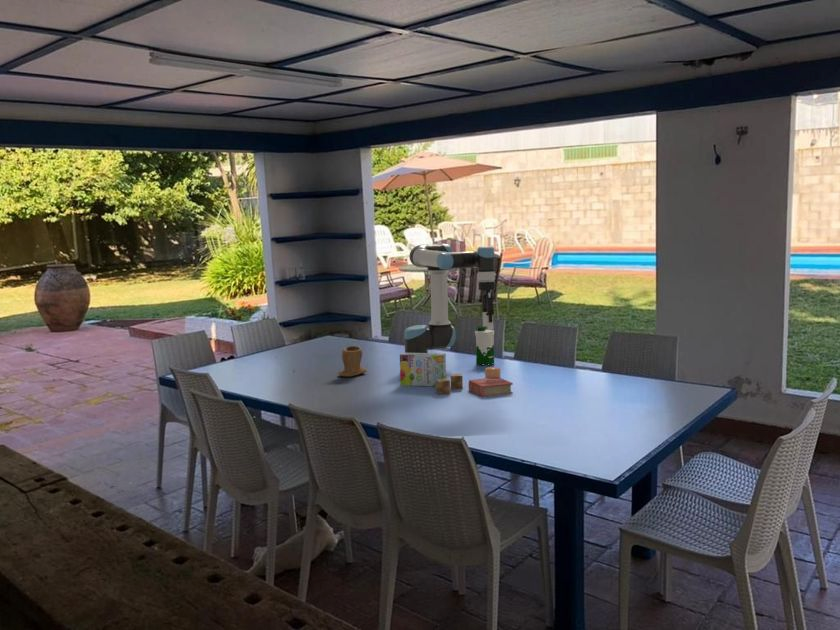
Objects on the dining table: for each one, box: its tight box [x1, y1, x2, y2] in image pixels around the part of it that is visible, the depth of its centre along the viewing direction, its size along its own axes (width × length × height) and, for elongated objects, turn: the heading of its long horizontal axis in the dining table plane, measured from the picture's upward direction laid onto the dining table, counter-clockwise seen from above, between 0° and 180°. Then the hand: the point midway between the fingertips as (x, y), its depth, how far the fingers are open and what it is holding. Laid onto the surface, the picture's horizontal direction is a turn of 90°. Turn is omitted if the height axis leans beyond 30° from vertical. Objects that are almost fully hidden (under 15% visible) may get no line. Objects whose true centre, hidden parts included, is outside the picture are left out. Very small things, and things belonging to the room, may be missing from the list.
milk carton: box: [474, 325, 495, 366], centre depth 384 cm, size 9×9×20 cm
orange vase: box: [337, 345, 368, 378], centre depth 365 cm, size 15×12×15 cm
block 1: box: [435, 378, 451, 396], centre depth 322 cm, size 5×5×6 cm
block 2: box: [450, 373, 464, 390], centre depth 332 cm, size 5×5×6 cm
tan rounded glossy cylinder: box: [484, 366, 501, 378], centre depth 334 cm, size 7×7×8 cm
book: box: [468, 377, 513, 398], centre depth 322 cm, size 14×15×5 cm
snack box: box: [399, 352, 447, 387], centre depth 339 cm, size 21×6×15 cm, turn 74°
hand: (488, 328), depth 328 cm, fingers open, 13 cm apart
